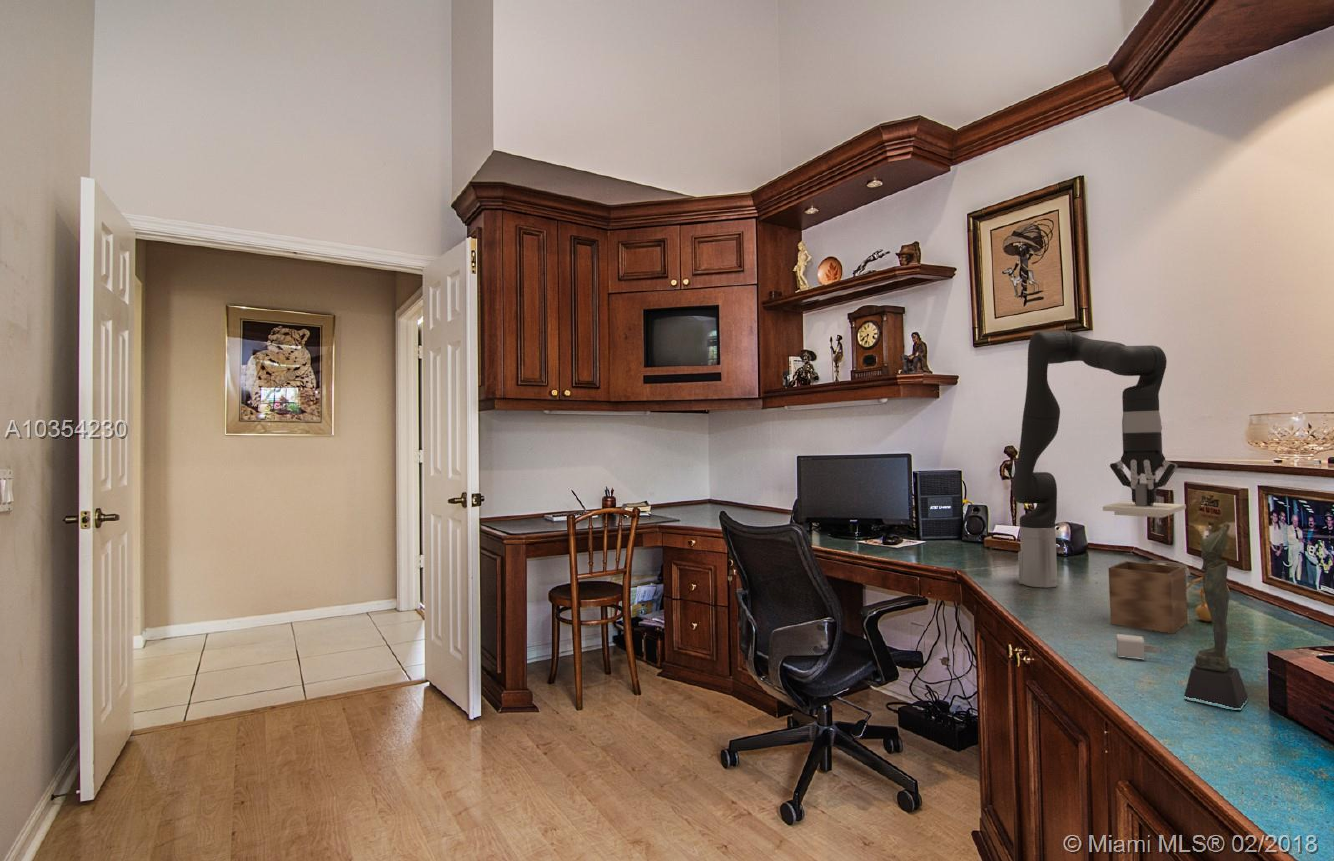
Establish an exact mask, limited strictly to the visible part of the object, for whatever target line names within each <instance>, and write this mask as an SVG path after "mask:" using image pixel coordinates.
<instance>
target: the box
mask: <svg viewBox="0 0 1334 861" xmlns="http://www.w3.org/2000/svg"><path fill="white" fill-rule="evenodd" d="M1108 585H1109V586H1108V587H1109V588H1108V589H1109V590H1108V592H1109V612H1110V613H1109V614H1110V615H1109V616H1110V617H1109V618H1110V625H1111V624H1112V625H1116V626H1122V627H1127V628H1128V627H1129V628H1134V627H1136V628H1135V629H1140V628H1141V630H1146V629H1147V631H1152V630H1154V632H1158V631H1159V633H1165V632H1169V633H1168V634H1171V633H1173V634H1175V633H1176V632H1178V631H1179V630H1180V629H1182V628H1183V627H1184V626H1186V625H1187V624H1188V623H1189V622H1188V620H1189V619H1188V598H1187V590H1186V571H1185V567H1180V566H1170V565H1160V564H1150V562H1149V563H1148V562H1139V561H1138V562H1137V561H1131V560H1130V561H1128V560H1124V561H1122V562H1120V563H1117V564H1115V565H1112V566H1110V567H1108ZM1181 627H1182V628H1181ZM1178 629H1179V630H1178ZM1177 630H1178V631H1177ZM1174 632H1175V633H1174Z"/></svg>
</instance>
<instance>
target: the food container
mask: <svg viewBox="0 0 1334 861" xmlns="http://www.w3.org/2000/svg"><path fill="white" fill-rule="evenodd" d="M1149 563H1150V564H1160V565H1170V566H1180V567H1185V571H1186V588H1187V586H1188V577H1189V576H1191V572H1190V569H1189V568H1188V565H1186V564H1184V563H1180V562H1173V561H1164V560H1149Z"/></svg>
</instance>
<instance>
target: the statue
mask: <svg viewBox="0 0 1334 861" xmlns="http://www.w3.org/2000/svg"><path fill="white" fill-rule="evenodd" d="M1230 527H1231V525H1230V524H1229V523H1228V521H1225V522H1224V523H1223V525H1222V527H1221V528H1220V529H1219V530H1217V531H1215V532H1213V533H1212V534H1209V535H1208V536H1206V537H1205V538H1202V539H1201V540H1200V543H1199V544H1200V548H1201V556H1200V557H1201V559H1202V566H1201V569H1200V570H1202V571H1203V572H1204V573H1203V574H1202V576H1201V577H1202V579H1203V581H1202V584H1203V585H1202V587H1203V589H1204V594H1203V595H1204V597H1205V604H1207V606H1208V609H1209V612H1210V615H1211V619H1212V621H1211V624H1212V632H1213V634H1212V635H1213V642H1214V647H1211V648H1205V649H1201V650H1198V651H1197V654H1196V656H1195V658H1194V660H1195V662H1194V663H1195V664H1194V665H1193V666H1192V667H1191V668H1190V672H1189V675H1188V680H1187V683H1186V688H1185V689H1184V690H1185V691H1184V695H1183V697H1184V696H1186V697H1189V698H1196V699H1199V700H1200V699H1201V700H1204V701H1208V702H1212V703H1218V704H1222V705H1225V706H1229V707H1233V708H1241V706H1242V705H1243V703H1245V701H1246V700H1247V698H1248V699H1249V695H1248V693H1247V690H1246V687H1245V684H1244V682H1243V679H1242V675H1241V674H1240V671H1239V669H1238V667H1237V668H1236V667H1232V666H1231V663H1230V659H1229V657H1228V655H1227V653H1226V649H1227V643H1228V637H1229V636H1228V627H1227V626H1228V625H1227V617H1228V611H1229V602H1230V598H1231V597H1230V593H1229V592H1228V589H1227V586H1228V584H1227V579H1228V568H1229V564H1228V560H1222V556H1223V554H1224V551H1225V549H1226V548H1225V547H1226V544H1227V542H1226V541H1227V539H1226V538H1227V534H1228V532H1229V531H1230V530H1229V529H1230ZM1203 582H1204V583H1203Z"/></svg>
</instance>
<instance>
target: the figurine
mask: <svg viewBox="0 0 1334 861" xmlns="http://www.w3.org/2000/svg"><path fill="white" fill-rule="evenodd" d="M1202 577H1203V576H1201V577H1199V578H1196V579H1195V578H1194V580H1192V581H1191V582H1189V584H1187V588H1186V591H1188V589H1189V588H1190V587H1191V586H1192V585H1194V583H1198V582H1202V584H1204V582H1203V579H1202ZM1227 589H1228V592H1229V594H1230V593H1231V592H1230V589H1229V586H1228V585H1227ZM1199 594H1200V598H1201V600H1202V602H1201V604H1199V605H1197V607H1196V608H1195V614H1196V617H1197V618H1198V619H1199V620H1202V621H1203V622H1212V619H1211V615H1210V612H1209V609H1208V606H1207V603H1206V601H1205V594H1204V589H1203V586H1200V591H1199Z"/></svg>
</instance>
